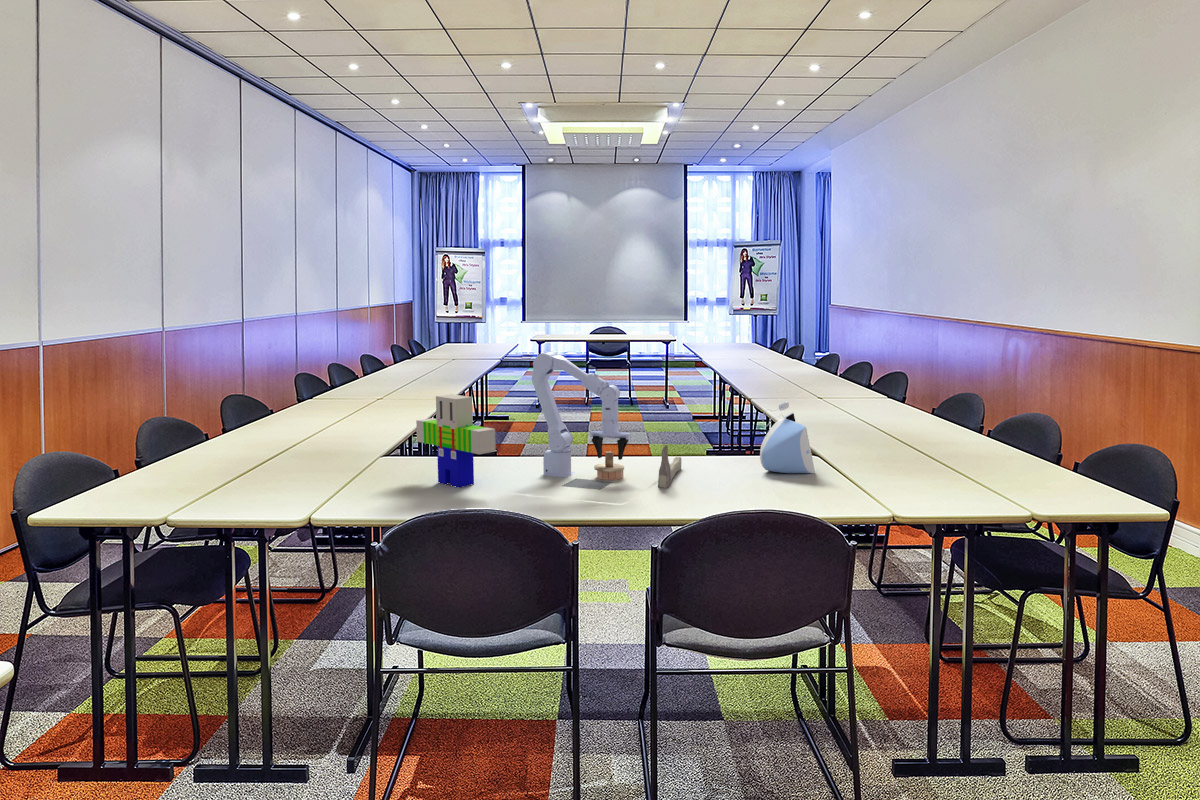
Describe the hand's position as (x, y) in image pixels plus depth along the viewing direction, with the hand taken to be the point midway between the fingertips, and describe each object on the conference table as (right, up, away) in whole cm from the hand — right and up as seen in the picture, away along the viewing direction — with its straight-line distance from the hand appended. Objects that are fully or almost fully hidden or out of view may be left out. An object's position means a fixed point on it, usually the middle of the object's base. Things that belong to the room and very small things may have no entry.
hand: (610, 458), depth 315 cm
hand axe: (+21, -7, +1) cm, 22 cm away
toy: (-53, -8, -6) cm, 54 cm away
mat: (-8, -9, -10) cm, 15 cm away
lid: (0, -4, 0) cm, 4 cm away
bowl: (0, -7, +1) cm, 7 cm away
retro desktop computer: (+66, -5, +14) cm, 68 cm away
